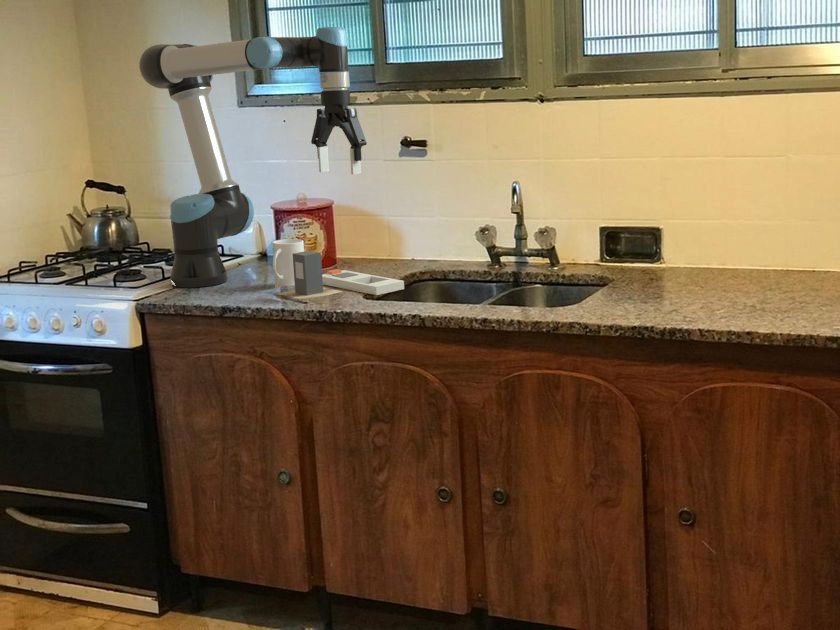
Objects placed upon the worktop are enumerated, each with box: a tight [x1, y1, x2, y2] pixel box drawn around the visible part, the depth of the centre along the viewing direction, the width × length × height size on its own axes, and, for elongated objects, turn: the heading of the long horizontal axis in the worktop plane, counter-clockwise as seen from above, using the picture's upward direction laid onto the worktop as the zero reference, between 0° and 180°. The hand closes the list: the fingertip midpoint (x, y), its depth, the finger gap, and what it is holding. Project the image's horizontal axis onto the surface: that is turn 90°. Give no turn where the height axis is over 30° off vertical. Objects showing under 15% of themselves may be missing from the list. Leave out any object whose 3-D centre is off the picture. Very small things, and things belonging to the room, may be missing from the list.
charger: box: [293, 250, 324, 296], centre depth 257 cm, size 5×5×10 cm
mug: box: [272, 238, 305, 289], centre depth 269 cm, size 12×8×12 cm
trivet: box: [275, 286, 344, 305], centre depth 258 cm, size 12×12×1 cm
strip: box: [322, 268, 405, 296], centre depth 266 cm, size 30×9×4 cm, turn 42°
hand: (340, 172), depth 269 cm, fingers open, 13 cm apart
